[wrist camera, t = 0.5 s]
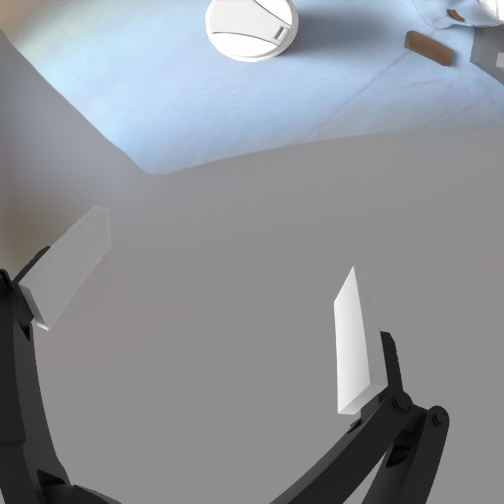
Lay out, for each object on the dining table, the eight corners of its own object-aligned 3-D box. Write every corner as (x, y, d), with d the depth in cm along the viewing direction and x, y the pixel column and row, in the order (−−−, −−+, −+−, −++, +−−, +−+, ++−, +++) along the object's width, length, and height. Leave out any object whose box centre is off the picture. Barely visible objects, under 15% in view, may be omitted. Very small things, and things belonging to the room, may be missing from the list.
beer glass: (463, 22, 21) (530, 18, 9) (431, 39, 24) (495, 34, 12) (434, -19, 18) (491, -44, 6) (400, -4, 21) (451, -33, 9)
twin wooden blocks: (419, -42, 16) (424, -46, 15) (457, -22, 16) (463, -24, 15) (404, 46, 26) (409, 46, 24) (443, 65, 26) (449, 66, 24)
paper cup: (309, 28, 27) (316, 4, 16) (278, 75, 31) (268, 77, 20) (253, 1, 26) (228, -33, 14) (224, 48, 30) (184, 39, 19)
